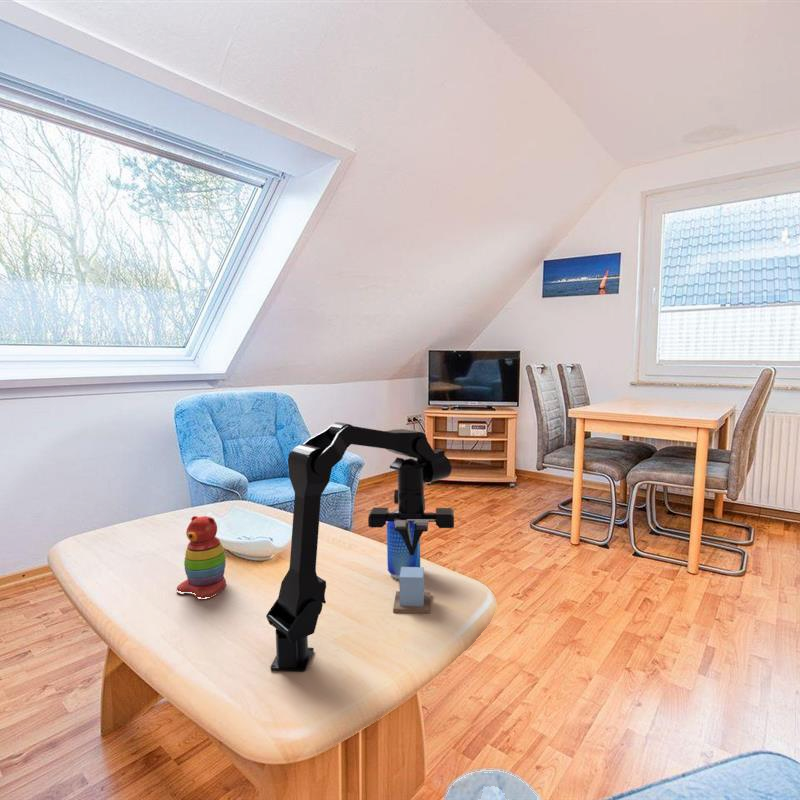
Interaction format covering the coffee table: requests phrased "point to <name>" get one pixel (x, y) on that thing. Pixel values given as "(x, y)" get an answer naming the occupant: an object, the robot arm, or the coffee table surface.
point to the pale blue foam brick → (411, 586)
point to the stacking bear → (203, 559)
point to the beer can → (400, 550)
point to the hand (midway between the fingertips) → (412, 554)
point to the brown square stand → (412, 609)
